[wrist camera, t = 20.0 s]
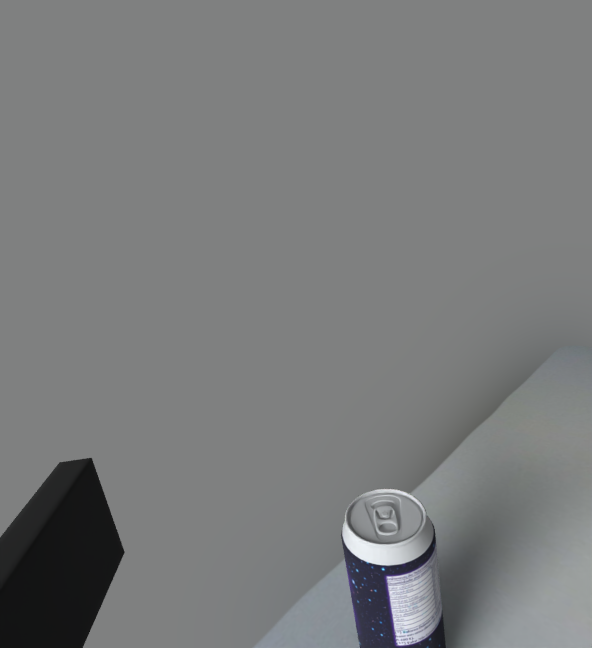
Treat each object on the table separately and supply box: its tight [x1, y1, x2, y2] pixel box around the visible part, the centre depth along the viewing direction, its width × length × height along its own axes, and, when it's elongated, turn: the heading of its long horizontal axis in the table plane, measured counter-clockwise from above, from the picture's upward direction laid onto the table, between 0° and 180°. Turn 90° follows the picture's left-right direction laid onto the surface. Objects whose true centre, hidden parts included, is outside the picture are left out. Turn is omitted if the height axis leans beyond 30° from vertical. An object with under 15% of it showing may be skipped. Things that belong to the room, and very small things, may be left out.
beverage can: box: [341, 489, 446, 648], centre depth 31 cm, size 6×6×12 cm
